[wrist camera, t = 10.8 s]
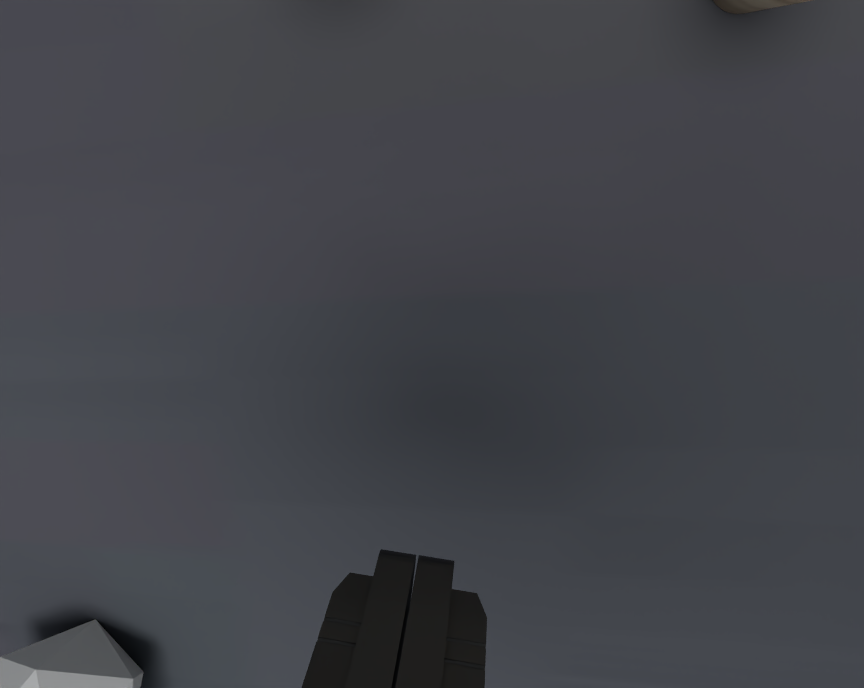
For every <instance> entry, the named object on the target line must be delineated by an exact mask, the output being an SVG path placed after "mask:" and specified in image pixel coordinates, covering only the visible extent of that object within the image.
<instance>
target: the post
mask: <svg viewBox="0 0 864 688" xmlns="http://www.w3.org/2000/svg"><path fill="white" fill-rule="evenodd" d="M713 1H714V3H715V4H716V5H717V6H718V7H719V8H721V9H722V10H724V11H726V12H729V13H733V14H744V13H750V12H755V11H760V10H765V9H770V8H776V7H781V6H786V5H791V4H797V3H802V2H807V1H812V0H713Z"/></svg>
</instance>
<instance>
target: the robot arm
mask: <svg viewBox="0 0 864 688" xmlns="http://www.w3.org/2000/svg"><path fill="white" fill-rule="evenodd" d="M415 561H416V555H413V554H407V553H401V552H394V551H388V550H382V549H381V550H380V553H379V557H378V560H377V564H376V568H375V572H374V576H367V575H361V574H355V573H349V574H348V575H347V577H346V578H345V579H344V580H343V581H342V582H341V583H340V584H339V586H338V587H337V588H336V589H335V590H334V591H333V593H332V596H331V599H330V602H329V605H328V608H327V611H326V614H325V619H324V621H323V624H322V627H321V630H320V633H319V636H318V641H317V642H316V645H315V648H314V651H313V654H312V657H311V660H310V664H309V667H308V670H307V673H306V676H305V679H304V682H303V685H302V688H484V685H485V656H486V649H485V647H486V628H487V617H486V614H485V612H484V609H483V607H482V604H481V602H480V599H479V597H478V594H477V593H472V592H466V591H460V590H454V589H452V579H453V569H454V561H451V560H445V559H439V558H433V557H427V556H420V555H419V558H418V563H417V569H416V575H415V580H414V586H413V578H414V570H415ZM412 586H413V592H412ZM411 594H412V597H411Z"/></svg>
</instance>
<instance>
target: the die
mask: <svg viewBox="0 0 864 688" xmlns="http://www.w3.org/2000/svg"><path fill="white" fill-rule="evenodd" d="M142 677H143V671H142V670H141V669H140V667H139V666H138V665H137V664H136V663H135V662H134V661H133V660H132V659H131V658H130V656H129V655H128V654H127V653H126V652H125V651H124V650H123V649H122V648H121V647H120V646H119V644H118V643H117V642H116V641H115V640H114V639H113V638H112V637H111V636H110V635H109V634H108V632H107V631H106V630H105V629H104V628H103V627H102V626H101V625H100V624H99V623H98V621H97V620H96V619H95V620H92V621H90V622H87V623H85V624H82V625H79V626H77V627H74V628H72V629H69V630H67V631H64V632H62V633H59V634H57V635H54V636H52V637H49V638H47V639H44V640H42V641H39V642H37V643H34V644H32V645H29V646H26V647H24V648H21V649H19V650H16V651H14V652H11V653H9V654H6V655H4V656H1V657H0V688H141V683H142Z"/></svg>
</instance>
